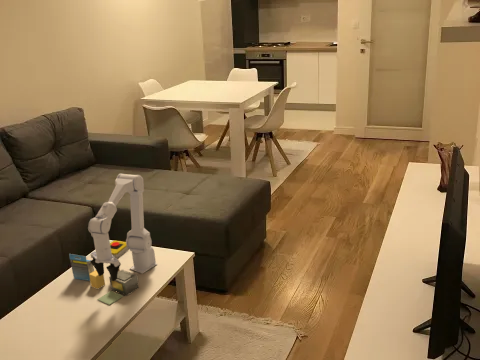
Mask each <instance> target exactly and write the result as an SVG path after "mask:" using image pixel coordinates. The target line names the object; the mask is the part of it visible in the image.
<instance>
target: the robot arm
mask: <svg viewBox="0 0 480 360" xmlns="http://www.w3.org/2000/svg"><path fill="white" fill-rule="evenodd" d="M114 185H115V187H114V188H113V190H112V193H111V195H110V197H109V199H108V201H105V202H103V204H102V205H101V207H100V209H99V210H98V212H97V214H96V215H95V217H93V218H90V220H89V222H88V224H87V225H88V227H87V229H88V232H89V233H90V234H91V235H90V236H91V237H92V238H93V244H94V250H95V251H92V252H91V253H89V254H90V258H91V261H90V262H91V264H92V265H93V267H94V270H96V271H97V273H98V275H99V276H101V275H104V274H105V269H106V270H107V271H108V273H109V277H111V280H112V281H115V280H116V279H117V274H118V270H119V269H120V267H121V265H122V264H121V262H120V260H119V259H118V258H117V259H116V258H115V257H114V256H113V255H112V253H111V247H110V243H111V241H110V236H109V232H110V229H111V224H112V219H113V218H114V216H115V214H116V213H117V211H118V209H117V205H118V204H119V202H120V201H121V199H122V198H123V197H124V196H125V194H126V193H127V194H129V198H130V199H129V201H130V202H129V203H130V219H131V221H130V222H131V230H129V231H128V232H127V233H126V239H125V242H126V245H127V247H128V248H129V249H128V250H129V251H130V252H131V255H132V264H133V266H130V267H129V269H130V270H132V271H135V272H137V273H140V274H144V273H146V272H147V271H148V270H151V269H153V267H155V266H156V265H158V263H157V262H156V256H155V249H154V248H153V247H152V242H153V241H152V238H151V232H150V231H148V230H147V229H146V228H145V220H144V219H145V217H144V195H143V194H144V192H145V185H144V177H142V175H141V174H130V173H129V174H126V173H118V175H116V179H115V180H114ZM104 264H109V265H107V266H106V268H105V266H104Z"/></svg>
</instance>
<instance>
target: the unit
mask: <svg viewBox="0 0 480 360" xmlns="http://www.w3.org/2000/svg"><path fill="white" fill-rule="evenodd" d="M109 285H110V289H112V290H111V291H113V290H114V291H113V292H116V291H117V292H116V293H118V294H120V293H121V294H120V295H123V296H126V297H127V296H129V295H131V293H133V292H134V291H136V290H138V289H139V288H140V286H139V285H140V284H139V278H138V274H135V273H133V272H130V271H128V270H124V269H120V271H118V274H117V279H116V280H115V281H112V280H111V277H110V276H109Z"/></svg>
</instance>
